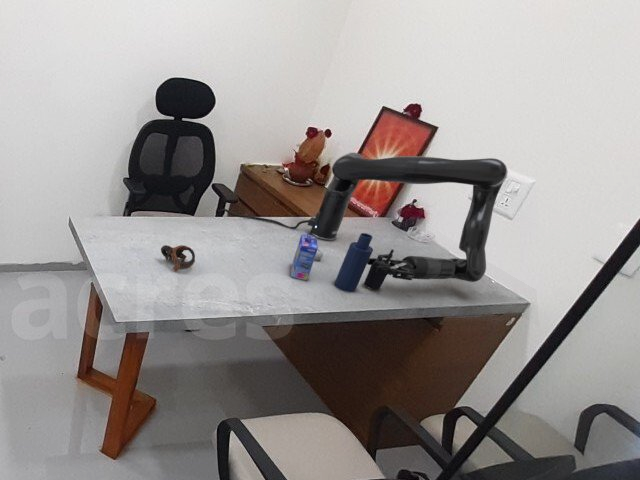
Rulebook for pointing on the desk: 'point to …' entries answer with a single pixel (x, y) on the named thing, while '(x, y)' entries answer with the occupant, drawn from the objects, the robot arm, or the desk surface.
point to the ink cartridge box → (304, 257)
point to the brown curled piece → (178, 256)
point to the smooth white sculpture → (318, 255)
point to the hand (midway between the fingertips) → (372, 265)
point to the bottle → (354, 264)
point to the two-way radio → (374, 278)
